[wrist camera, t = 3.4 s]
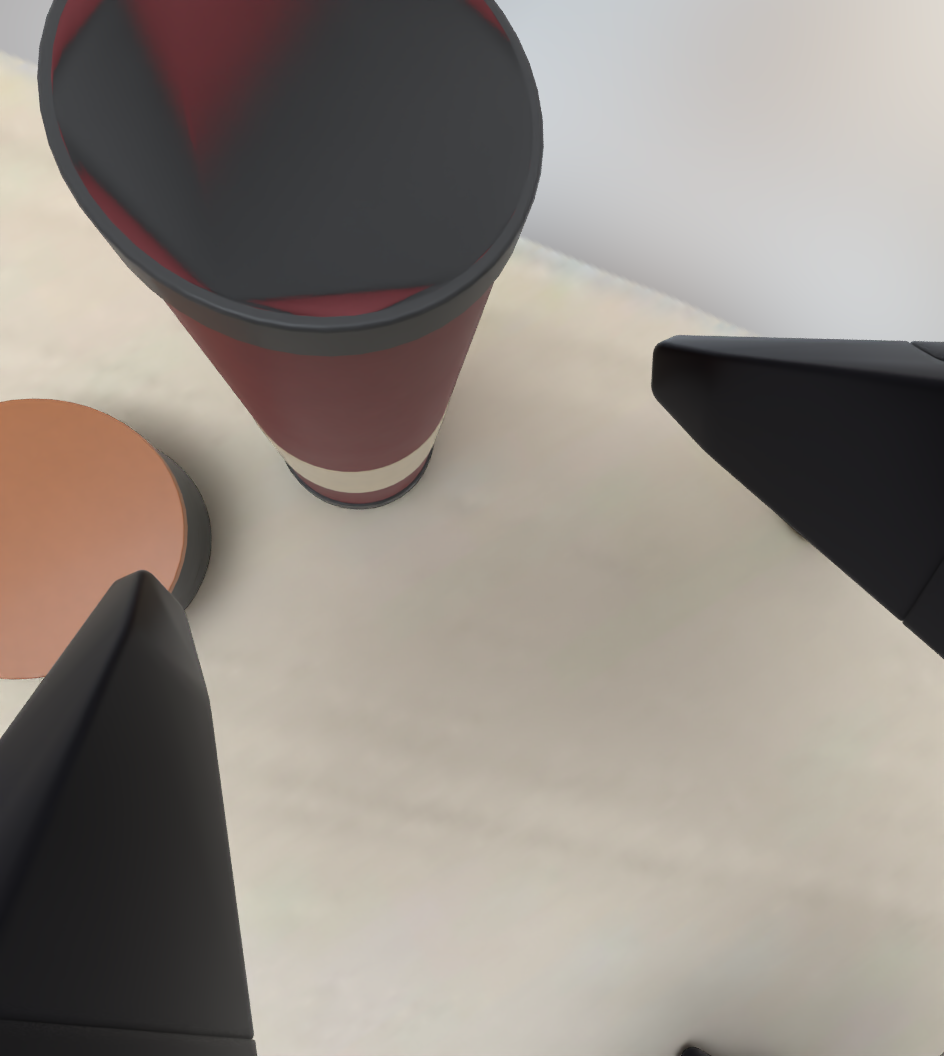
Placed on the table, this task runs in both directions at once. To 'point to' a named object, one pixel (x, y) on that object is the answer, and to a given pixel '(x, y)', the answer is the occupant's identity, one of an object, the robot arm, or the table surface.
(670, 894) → the table surface
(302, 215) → the tube
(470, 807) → the table surface
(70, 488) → the orange black short cylinder
